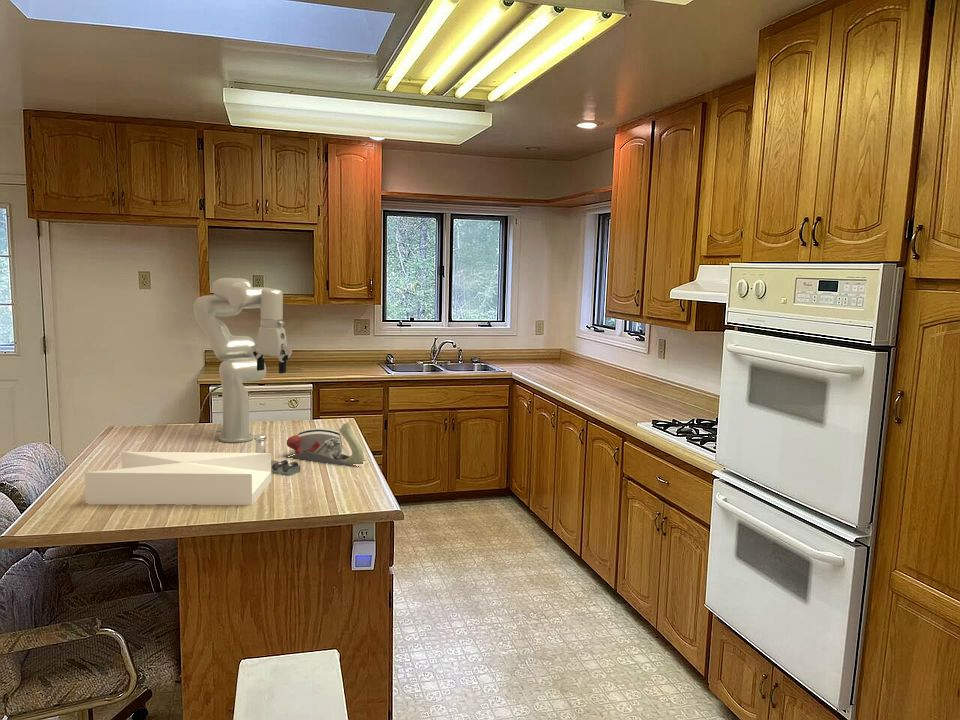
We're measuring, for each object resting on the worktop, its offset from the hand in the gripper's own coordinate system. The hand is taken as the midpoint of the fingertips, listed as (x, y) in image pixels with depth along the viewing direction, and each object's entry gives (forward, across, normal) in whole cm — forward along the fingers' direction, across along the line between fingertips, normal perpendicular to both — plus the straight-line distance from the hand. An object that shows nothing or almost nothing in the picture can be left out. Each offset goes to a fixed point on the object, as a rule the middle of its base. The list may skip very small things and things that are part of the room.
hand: (271, 371), depth 242 cm
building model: (+30, -8, +48) cm, 57 cm away
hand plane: (+30, -24, 0) cm, 38 cm away
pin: (+29, -11, +18) cm, 36 cm away
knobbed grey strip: (+29, -9, +18) cm, 36 cm away
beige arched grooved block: (+30, -15, -8) cm, 34 cm away
